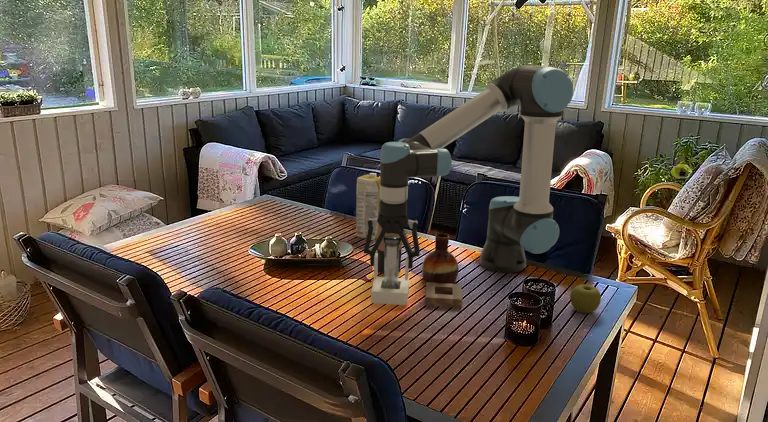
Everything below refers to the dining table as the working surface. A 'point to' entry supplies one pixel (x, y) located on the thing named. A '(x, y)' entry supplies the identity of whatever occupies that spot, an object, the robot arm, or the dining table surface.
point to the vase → (440, 263)
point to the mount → (443, 295)
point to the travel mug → (382, 251)
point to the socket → (390, 292)
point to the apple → (585, 298)
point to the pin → (391, 261)
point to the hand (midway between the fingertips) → (391, 277)
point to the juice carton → (367, 204)
